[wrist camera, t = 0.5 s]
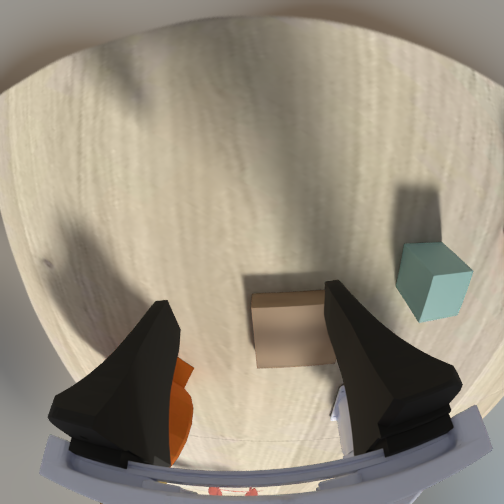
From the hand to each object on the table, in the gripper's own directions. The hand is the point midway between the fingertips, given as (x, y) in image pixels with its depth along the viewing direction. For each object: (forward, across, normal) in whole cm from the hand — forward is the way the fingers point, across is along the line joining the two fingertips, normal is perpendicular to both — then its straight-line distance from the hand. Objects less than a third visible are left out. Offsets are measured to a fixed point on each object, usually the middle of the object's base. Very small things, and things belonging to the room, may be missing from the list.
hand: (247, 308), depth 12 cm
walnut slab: (+9, -3, +12) cm, 15 cm away
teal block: (+9, -16, +6) cm, 19 cm away
